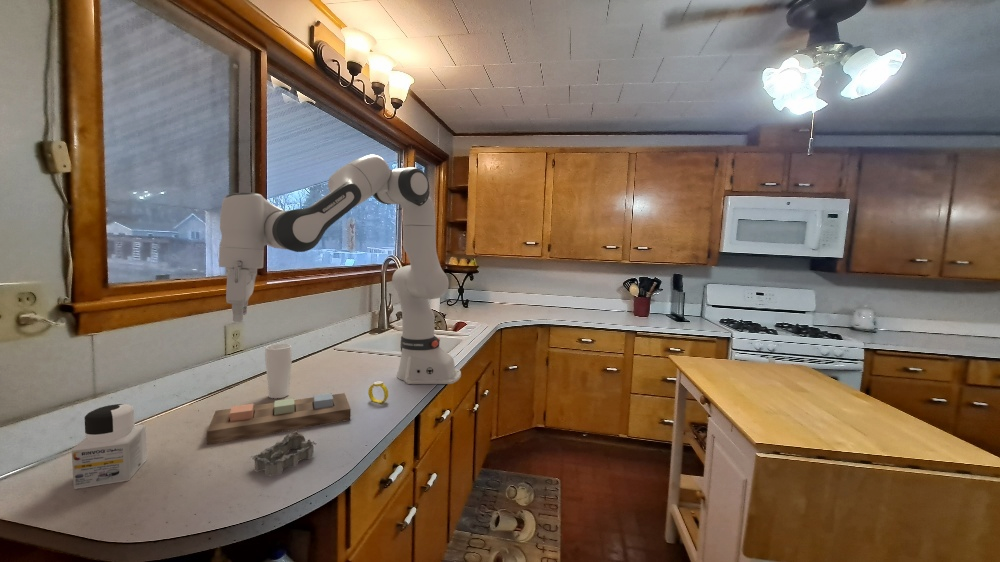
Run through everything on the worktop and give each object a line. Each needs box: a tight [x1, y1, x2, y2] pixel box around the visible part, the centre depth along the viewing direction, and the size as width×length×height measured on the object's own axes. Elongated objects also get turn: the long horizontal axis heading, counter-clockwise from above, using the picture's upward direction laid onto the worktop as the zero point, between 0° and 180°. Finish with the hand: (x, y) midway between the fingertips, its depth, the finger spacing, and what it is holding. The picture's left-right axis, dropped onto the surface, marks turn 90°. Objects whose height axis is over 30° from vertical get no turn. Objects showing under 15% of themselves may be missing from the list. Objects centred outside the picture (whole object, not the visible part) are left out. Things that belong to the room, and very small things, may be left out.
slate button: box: [313, 392, 333, 409], centre depth 102 cm, size 4×4×3 cm
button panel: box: [206, 392, 352, 445], centre depth 98 cm, size 30×12×3 cm, turn 119°
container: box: [71, 403, 148, 490], centre depth 73 cm, size 8×8×13 cm
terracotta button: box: [230, 403, 255, 422], centre depth 93 cm, size 4×4×3 cm
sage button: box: [274, 398, 295, 415], centre depth 97 cm, size 4×4×3 cm
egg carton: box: [251, 430, 317, 477], centre depth 80 cm, size 11×8×4 cm
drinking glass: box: [264, 343, 293, 399], centre depth 113 cm, size 7×7×15 cm
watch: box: [367, 380, 389, 404], centre depth 112 cm, size 6×3×6 cm, turn 71°
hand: (240, 317), depth 92 cm, fingers open, 8 cm apart
